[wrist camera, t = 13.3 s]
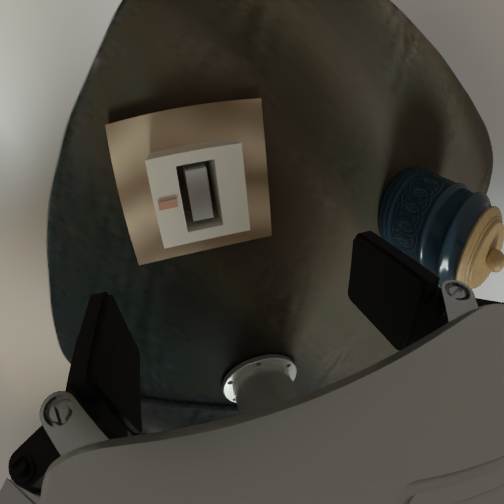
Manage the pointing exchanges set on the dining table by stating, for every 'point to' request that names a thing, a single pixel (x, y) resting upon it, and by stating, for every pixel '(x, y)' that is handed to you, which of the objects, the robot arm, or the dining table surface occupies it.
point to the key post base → (178, 135)
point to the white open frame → (221, 184)
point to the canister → (443, 226)
